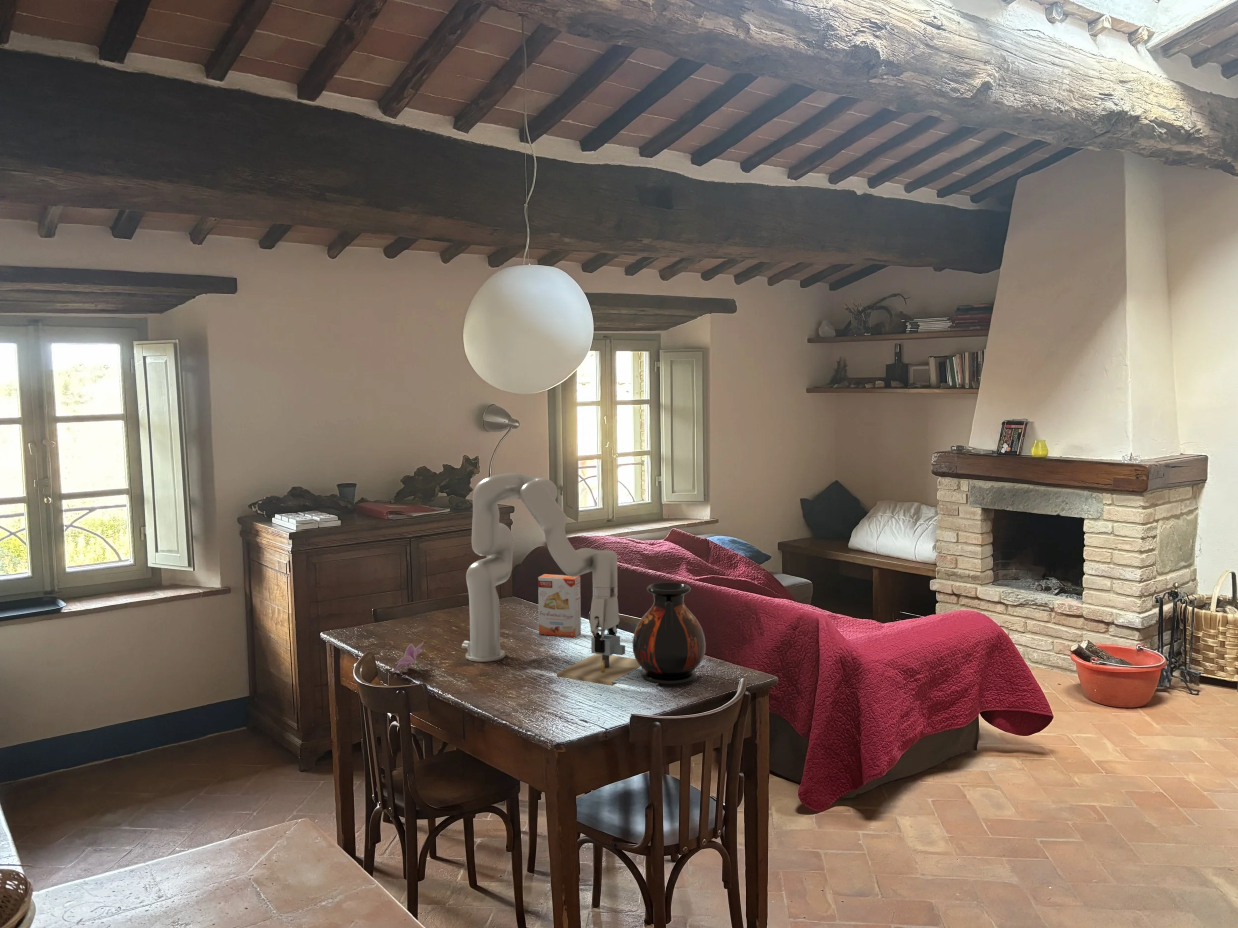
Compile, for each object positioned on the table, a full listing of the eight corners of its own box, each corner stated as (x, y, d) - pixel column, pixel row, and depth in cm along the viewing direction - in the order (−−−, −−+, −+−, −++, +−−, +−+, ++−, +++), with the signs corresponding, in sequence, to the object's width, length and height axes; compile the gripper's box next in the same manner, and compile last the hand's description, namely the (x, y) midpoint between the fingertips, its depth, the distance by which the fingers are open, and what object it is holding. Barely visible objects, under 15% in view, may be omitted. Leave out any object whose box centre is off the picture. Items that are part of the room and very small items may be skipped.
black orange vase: (634, 668, 286) (633, 578, 284) (704, 669, 284) (704, 579, 282) (630, 690, 264) (630, 593, 262) (706, 691, 263) (706, 594, 261)
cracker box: (538, 635, 326) (537, 576, 325) (544, 630, 332) (544, 573, 331) (575, 638, 322) (574, 578, 321) (581, 633, 328) (580, 575, 326)
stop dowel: (600, 672, 278) (600, 660, 278) (602, 671, 279) (602, 659, 279) (603, 672, 277) (603, 661, 277) (605, 671, 278) (605, 660, 278)
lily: (429, 668, 291) (415, 641, 292) (442, 662, 282) (427, 634, 282) (396, 687, 284) (381, 659, 285) (408, 681, 275) (393, 652, 275)
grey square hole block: (591, 652, 282) (591, 638, 282) (602, 647, 287) (601, 633, 287) (618, 656, 277) (618, 642, 277) (628, 651, 283) (628, 637, 282)
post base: (556, 676, 278) (556, 656, 277) (597, 656, 299) (597, 637, 298) (612, 685, 269) (611, 664, 268) (650, 664, 290) (649, 645, 289)
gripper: (608, 585, 291) (609, 641, 292) (579, 595, 276) (580, 654, 277) (629, 587, 287) (630, 644, 289) (601, 598, 272) (602, 658, 274)
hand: (605, 648), depth 283 cm, fingers closed on grey square hole block, 6 cm apart
